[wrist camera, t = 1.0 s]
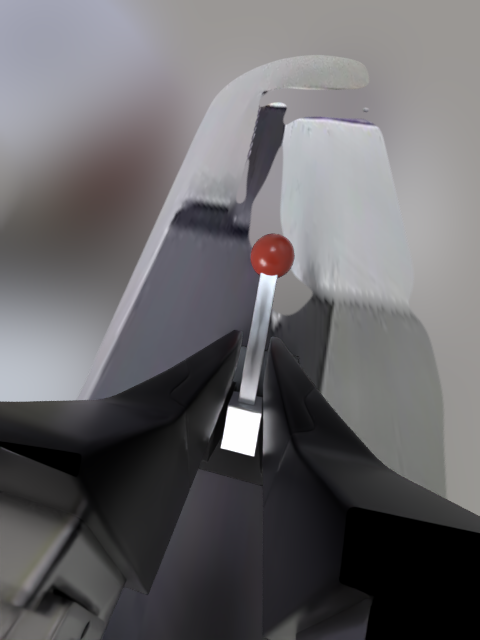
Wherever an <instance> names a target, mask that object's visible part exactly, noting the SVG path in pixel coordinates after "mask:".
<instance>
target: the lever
mask: <svg viewBox="0 0 480 640" xmlns="http://www.w3.org/2000/svg"><path fill="white" fill-rule="evenodd" d="M294 257H295V255H294V249H293V246H292V244H291V242H290V241H289V240H288V239H287V238H286V237H284V236H282V235H279V234H267V235H265V236H263V237H261V238H260V239H259V240H258V241H257V242H256V243H255V244H254V246H253V248H252V251H251V264H252V267H253V269H254V270H255V272H256V273H257V274H258V275H260V278H259V284H258V289H257V295H256V301H255V306H254V312H253V318H252V323H251V329H250V335H249V340H248V346H247V352H246V357H245V363H244V369H243V374H242V380H241V386H240V392H235V391H233V393H232V396H231V398H230V400H229V403H228V405H227V411H226V416H225V422H224V428H223V433H222V439H221V445H220V448H221V449H225V450H229V451H233V452H237V453H241V454H245V455H249V456H252V457H254V456H255V453H256V448H257V442H258V437H259V431H260V426H261V420H262V415H263V398H262V397H258V396H256V394H257V389H258V383H259V377H260V372H261V366H262V361H263V355H264V350H265V344H266V338H267V333H268V327H269V322H270V316H271V311H272V305H273V299H274V294H275V288H276V283H277V278H280V277H282V276H283V275H285V274H286V273H287V272H288V271H289V270H290V269H291V267H292V265H293V262H294Z"/></svg>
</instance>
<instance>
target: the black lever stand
mask: <svg viewBox="0 0 480 640" xmlns="http://www.w3.org/2000/svg"><path fill="white" fill-rule="evenodd" d="M246 352H247V346H242V345H241V351H240V355H239V359H238V363H237V367H236V371H235V375H234V378H233V381H232V384H231V386H230V389H229V391H228V394H227V396H226V399H225V402H224V404H223V407H222V409H221V412H220V414H219V417H218V419H217V422H216V424H215V427H214V429H213V432H212V434H211V437H210V440H209V442H208V445H207V447H206V450H205V452H204V455H203V457H202V460H201V462H200V465H199V467H198V469H202V470H206V471H209V472H213V473H217V474H220V475H224V476H228V477H231V478H235V479H239V480H242V481H246V482H249V483H253V484H257V485H260V486H263V415H262V420H261V426H260V431H259V437H258V442H257V448H256V453H255V456H254V457H252V456H249V455H245V454H241V453H237V452H233V451H229V450H225V449H221V448H220V445H221V439H222V433H223V428H224V422H225V416H226V411H227V405H228V403H229V400H230V398H231V396H232V393H233V391H235V392H240V386H241V380H242V374H243V369H244V363H245V357H246ZM267 354H268V350H264V355H263V361H262V366H261V372H260V377H259V383H258V389H257V394H256V396H258V397H262V398H263V383H264V375H265V368H266V361H267ZM293 356H294V355H293ZM294 358H295V359H296V361H297V362H298V363H299V356H294Z"/></svg>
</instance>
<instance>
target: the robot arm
mask: <svg viewBox="0 0 480 640" xmlns="http://www.w3.org/2000/svg"><path fill="white" fill-rule="evenodd" d="M242 337H243V332H242V331H238V330H233V331H232V332H230V333H228V334H227V335H225V336H223V337H222V338H220V339H218V340H217V341H215V342H213V343H212V344H210V345H209V346H207V347H205V348H204V349H202V350H200V351H199V352H197V353H195V354H194V355H192V356H190V357H189V358H187V359H186V360H184V361H182V362H180V363H179V364H177V365H175V366H174V367H172V368H170V369H168V370H167V371H165V372H163V373H161V374H159V375H157V376H155V377H153V378H151V379H149V380H147V381H144V382H142V383H140V384H138V385H136V386H134V387H132V388H130V389H128V390H126V391H124V392H122V393H119V394H117V395H115V396H112V397H109V398H105V399H99V400H78V401H36V402H35V401H34V402H0V640H102V637H103V635H104V632H105V630H106V628H107V625H108V623H109V621H110V618H111V616H112V614H113V611H114V609H115V607H116V604H117V602H118V600H119V597H120V595H121V592H122V590H123V588H124V587H126V588H129V589H132V590H134V591H137V592H140V593H143V594H145V595H148V594H149V591H150V589H151V587H152V584H153V582H154V579H155V576H156V574H157V571H158V569H159V566H160V564H161V561H162V559H163V556H164V554H165V551H166V549H167V546H168V544H169V541H170V538H171V536H172V533H173V531H174V528H175V526H176V523H177V521H178V518H179V516H180V513H181V511H182V508H183V506H184V503H185V501H186V498H187V495H188V493H189V490H190V488H191V485H192V483H193V480H194V478H195V475H196V472H197V470H198V467H199V465H200V462H201V460H202V457H203V455H204V452H205V450H206V447H207V445H208V442H209V440H210V437H211V434H212V432H213V429H214V427H215V424H216V422H217V419H218V417H219V414H220V412H221V409H222V407H223V404H224V402H225V399H226V396H227V394H228V391H229V389H230V386H231V384H232V381H233V378H234V375H235V371H236V367H237V363H238V359H239V355H240V351H241V345H242ZM262 635H263V637H265V638H268V639H270V640H480V516H478V515H476V514H474V513H472V512H470V511H468V510H466V509H464V508H462V507H460V506H458V505H456V504H455V503H452V502H451V501H449V500H447V499H445V498H443V497H441V496H439V495H437V494H435V493H433V492H431V491H429V490H427V489H425V488H424V487H422V486H420V485H418V484H416V483H414V482H412V481H410V480H408V479H406V478H404V477H402V476H400V475H399V474H397V473H395V472H394V471H392V470H391V469H389V468H388V467H387V466H385V465H384V464H383V463H382V462H381V461H380V460H379V459H377V458H376V457H375V455H374V454H373V453H372V452H371V451H370V450H369V449H368V448H367V447H366V446H365V445H364V443H363V442H362V441H361V440H360V439H359V438H358V437H357V436H356V434H355V433H354V432H353V431H352V430H351V429H350V428H349V427H348V426H347V424H346V423H345V422H344V421H343V420H342V419H341V418H340V417H339V415H338V414H337V413H336V412H335V411H334V410H333V408H332V407H331V406H330V405H329V403H328V402H327V401H326V400H325V398H324V397H323V396H322V394H321V393H320V392H319V390H318V389H317V388H316V387H315V385H314V384H313V382H312V381H311V380H310V378H309V377H308V375H307V374H306V373H305V371H304V370H303V369H302V367H301V366H300V365H299V363H298V362H297V361H296V359H295V358H294V356H293V355H292V354H291V352H290V351H289V350H288V348H287V347H286V346H285V344H284V343H283V341H282V340H281V339H280V338H276V337H271V339H270V344H269V349H268V354H267V361H266V368H265V375H264V383H263V616H262Z"/></svg>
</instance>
